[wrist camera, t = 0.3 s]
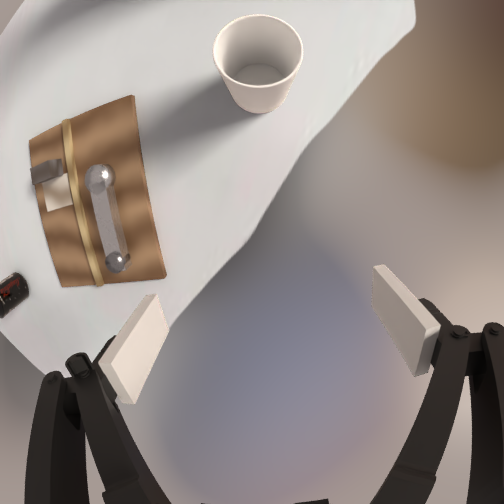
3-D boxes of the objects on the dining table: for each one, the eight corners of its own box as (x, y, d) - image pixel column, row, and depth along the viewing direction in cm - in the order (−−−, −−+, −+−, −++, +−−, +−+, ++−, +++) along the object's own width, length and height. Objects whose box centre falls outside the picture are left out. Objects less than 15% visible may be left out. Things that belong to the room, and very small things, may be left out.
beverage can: (12, 266, 47) (-20, 287, 35) (30, 276, 47) (-4, 301, 36) (15, 290, 49) (-15, 313, 38) (32, 301, 49) (2, 326, 38)
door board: (32, 140, 37) (15, 141, 32) (134, 95, 35) (119, 90, 31) (65, 284, 47) (51, 295, 42) (166, 275, 45) (157, 288, 41)
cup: (296, 74, 34) (316, 32, 19) (274, 122, 37) (283, 101, 22) (243, 55, 33) (233, 5, 18) (221, 102, 36) (197, 72, 21)
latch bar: (90, 167, 37) (80, 169, 34) (113, 160, 36) (103, 161, 34) (113, 267, 42) (105, 274, 39) (135, 264, 42) (128, 272, 39)
